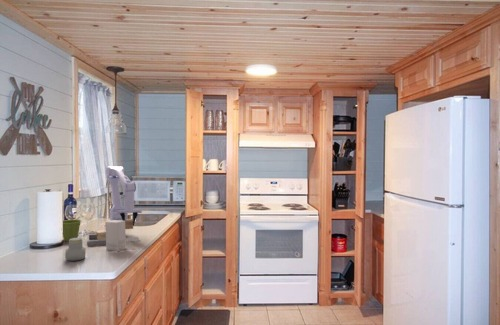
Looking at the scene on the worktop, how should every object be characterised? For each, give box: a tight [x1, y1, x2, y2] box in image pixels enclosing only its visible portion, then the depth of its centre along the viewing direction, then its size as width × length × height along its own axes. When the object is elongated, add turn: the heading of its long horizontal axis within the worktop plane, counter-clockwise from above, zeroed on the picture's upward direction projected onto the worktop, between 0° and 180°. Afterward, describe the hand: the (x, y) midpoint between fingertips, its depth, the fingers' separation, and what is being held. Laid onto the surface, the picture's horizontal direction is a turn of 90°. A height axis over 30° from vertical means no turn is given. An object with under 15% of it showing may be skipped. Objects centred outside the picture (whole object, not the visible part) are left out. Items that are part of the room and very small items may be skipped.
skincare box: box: [104, 220, 127, 252], centre depth 197 cm, size 8×7×16 cm
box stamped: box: [125, 218, 134, 230], centre depth 218 cm, size 4×4×5 cm
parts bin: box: [87, 233, 106, 247], centre depth 212 cm, size 17×14×3 cm
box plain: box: [95, 230, 106, 240], centre depth 216 cm, size 4×4×5 cm
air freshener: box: [64, 237, 86, 262], centre depth 178 cm, size 11×8×10 cm
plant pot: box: [62, 219, 82, 242], centre depth 217 cm, size 12×12×11 cm
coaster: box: [126, 236, 141, 243], centre depth 219 cm, size 11×11×1 cm
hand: (128, 225), depth 218 cm, fingers closed on box stamped, 4 cm apart
